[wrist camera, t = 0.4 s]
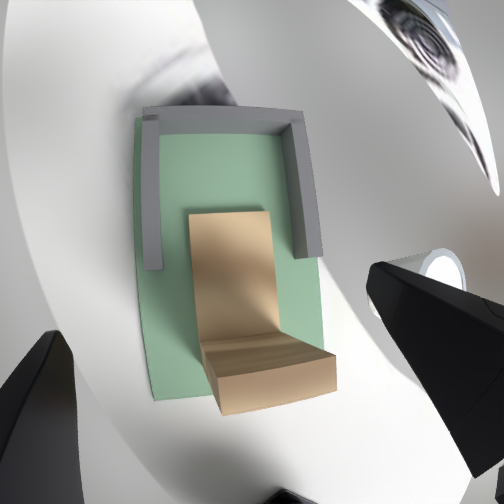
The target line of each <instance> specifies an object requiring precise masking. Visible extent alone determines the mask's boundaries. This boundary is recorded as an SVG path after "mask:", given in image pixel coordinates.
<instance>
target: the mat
mask: <svg viewBox="0 0 504 504" xmlns="http://www.w3.org/2000/svg"><path fill="white" fill-rule="evenodd" d="M142 123H143V118H136V123H135V142H134V235H135V254H136V269H137V282H138V293H139V303H140V312H141V321H142V329H143V336H144V343H145V350H146V357H147V363H148V369H149V375H150V381H151V386H152V391H153V397H154V401H155V400H168V399H179V398H189V397H198V396H206V395H213V392H212V390H211V387H210V385H209V382H208V380H207V377H206V374H205V372H204V369H203V367H202V361H201V353H200V345H199V337H198V328H197V319H196V310H195V300H194V289H193V278H192V267H191V254H190V240H189V225H188V215H191V214H210V213H231V212H257V211H269V212H270V222H271V232H272V242H273V253H274V263H275V274H276V286H277V297H278V309H279V321H280V331H281V332H283V333H286V334H288V335H290V336H292V337H294V338H297V339H299V340H301V341H303V342H306V343H308V344H310V345H313V346H315V347H317V348H320V349H322V350H324V340H323V323H322V308H321V295H320V283H319V271H318V261H317V257H315V258H308V259H297V260H295V258H294V247H293V237H292V228H291V218H290V209H289V200H288V192H287V183H286V175H285V167H284V159H283V152H282V144H281V137H280V136H277V135H256V134H174V135H160V141H159V175H160V213H161V235H162V251H163V265H164V270H161V271H144V257H143V239H142V214H141V148H142Z"/></svg>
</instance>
